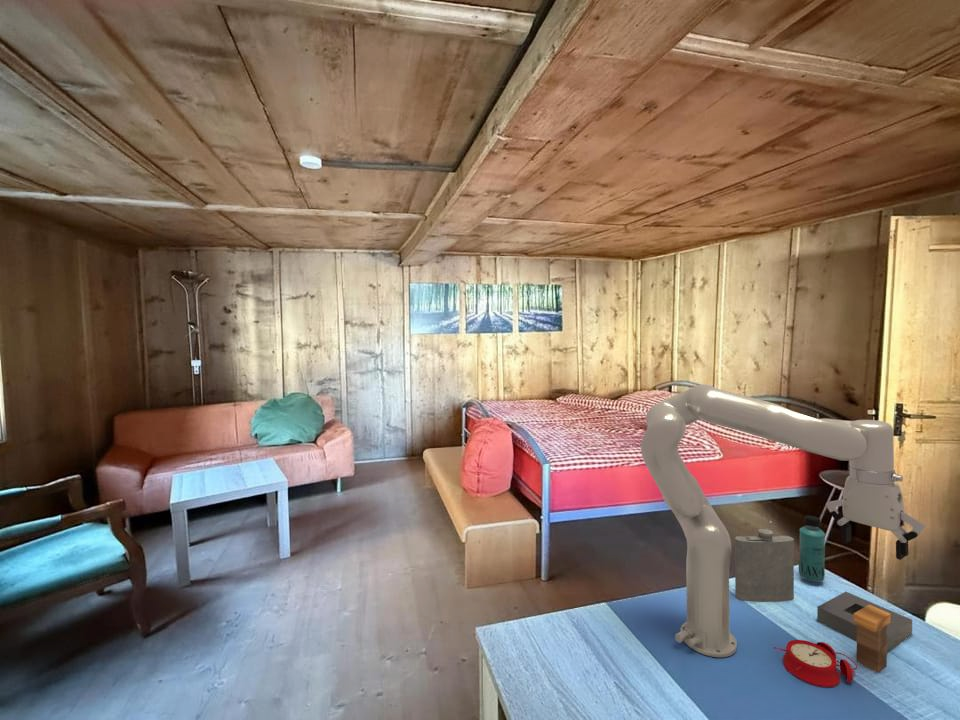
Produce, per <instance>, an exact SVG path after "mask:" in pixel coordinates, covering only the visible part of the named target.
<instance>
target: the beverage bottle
mask: <svg viewBox="0 0 960 720" xmlns="http://www.w3.org/2000/svg"><path fill="white" fill-rule="evenodd" d="M803 524H805V525H804V526H802V527H800V528H799V550H798V553H799V554H798V573H799V576H800V577H802V579H804V580H806V581H810V582H815V583H821V582H823V581H824V580H825V578H826V577H825V576H826V574H825V568H826V567H825V566H826V565H825V563H826V559H825V555H826V553H825V552H826V545H825V544H826V543H825V542H826V534H825V532H824V531H823V530H822V529H821V528H820V527H822V523H821V519H820V517H817V516H814V515H804V519H803Z"/></svg>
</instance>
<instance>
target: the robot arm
mask: <svg viewBox="0 0 960 720" xmlns="http://www.w3.org/2000/svg"><path fill="white" fill-rule="evenodd" d="M699 420H701V421H704V422H707V423H710V424H712V425H716V426H720V427H724V428H728V429H732V430H735V431H739V432H742V433H746V434H749V435H752V436H756V437H761V438H763V439H766V440H768V441H771V442H775V443H778V444H779V443H780V444H783V445H787V446H789V447H793V448H795V449H799V450H802V451H805V452H809V453H812V454H814V455H815V454H816V455H820V456H822V457H826V458H831V459H833V460H834V459H835V460H837V461H846V462H847V461H849V475H848V476H847V477H846V479H845V483H844V487H843V488H844V489H843V495H842V498H841V499H836V500H831V501H828V502H826V503H825V506H826V508H827V510H828V511H829V513H830V516H832V518H833V519H834V520H835V521H836V523H837V525H838V526H839V537H840V538H841V542H842V544H847V543H849V542H851V541H852V525H851V523H850V522H854V523H856V524H857V523H858V524H862V525H864V526H865V525H866V526H868V527H871V528H877V529H879V530H884V531H889V532H892V534H893V535H894V536H895V537H896V539H897V540H896V541H895V558H896V559H897V560H899V561H902V560H903V559H904V558H905V557H908V555H909V541H911V540H914V539H916V538H917V537H919V536H920V534H921V533H922V532H923V531H924V530H925V528H926V525H925V524H924V523H923V522H921V521H919V520H917V519H916V518H914V517H912V516H911V515H909V514H907V513H906V512H905V511H906V510H905V504H904V499H903V498H904V497H903V494H902V489H901V485H900V484H899V483H897V482H901V483H902V482H903V480H904V477H903V475H900V474H897V473H896V470H895V451H894V446H895V445H894V444H895V443H894V428H893V426H892V425H891V424H890V423H888V422H885V421H883V420H877V419H876V420H875V419H857V420H843V419H836V418H835V419H834V418H816V417H814V416H813V417H812V416H808V415H805V414H803V413H800V412H796V411H795V410H792V409H789V408H787V407H785V406H782V405H779V404H776V403H774V402H770V401H766V400H762V399H759V398H755V397H752V396H747V395H742V394H738V393H735V392H731V391H727V390H723V389H720V388H716V387H715V386H712V385H711V384H710V385H709V384H699V385H695V386H692V387H690V388H688V389H686V390H684V391H682V392H680V393H677V394H675V395H673V396H671V397H669V398H667V399H665V400H662V401H659V402H658V403H655V404H654V405H652V406H651V407H650V408H648V410H647V413H646V415H645V423H646V430H645V432H644V434H643V436H642V439H641V445H640V453H641V457H642V460H643V462H644V464H645V466H646V468H647V470H648V472H649V473H650V475H651V477H652V479H653V481H654V484H656V486H657V488H658V489H659V491H660V493H661V496H662V498H663V501H664V503H665V504H666V506H667V507H668V508H669V509H670V510H671V511H672V513H673V514H674V516H675V518H676V520H677V521H678V523H679V524H680V527H681V529H682V531H683V533H684V534H683V535H684V537H685V539H686V548H687V549H686V551H687V552H686V560H685V563H686V564H685V565H686V566H685V567H686V569H685V571H686V572H685V573H686V574H685V577H686V581H685V582H686V621H685V622H683V624H682V625H681V626H680V631H679V632H677V633H675V634H674V639H675V641H676V642H677V643H679V644H680V643H682V642H684V643H685V644H686V645H687V646H688V647H689V648H691V649H692V650H694V651H695V652H697V653H699V654H702V655H705V656H709V657H713V658H726V657H730V656H732V655H733V654H735V653H736V651H737V649H738V648H737V647H738V643H737V639H736V637H735V636H734V635H733V633H732V632H731V631H730V564H731V557H732V556H731V555H732V550H733V549H732V540H731V537H730V533H729V532H728V530H727V528H726V526H725V524H724V523H723V521H722V520H721V519H720V517H719V516H718V514H717V513H716V512H715V509H714V508H713V507H712V504H711V503H710V501H709V500H708V498H707V497H706V495H705V493H704V490H703V489H702V487H701V485H700V483H698V481H697V480H696V478H695V476H694V475H693V474H692V473H690V471H689V469H688V467H687V466H686V463H685V462H684V460H683V458H682V457H681V455H680V453H679V444H680V443H681V441H682V439H683V437H684V435H685V433H686V429H687V428H686V427H687V426H689V425H691V424H693V423H695V422H697V421H699ZM837 507H842V511H841V512H842V513H841V512H840V511H838V509H837ZM906 524H908V525H910V526H911V527H912V530H910V531H906V529H905V528H904V526H905V525H906Z"/></svg>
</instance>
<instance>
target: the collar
mask: <svg viewBox="0 0 960 720" xmlns="http://www.w3.org/2000/svg"><path fill="white" fill-rule="evenodd" d="M867 605H872V606H874V607H876V608H878V609H881V610H883V611H885V612H888V613H890V614H891V622H890V623H889V624H887V654H888V653H890V652H891V651H892V650H894V649H895V648H896V647H898V646H900V643H901V642H902V643H903V642H905V641H906V640H907V639H906V638H908V637H909V636H910V637H912V636H913V619H912V618H909V617H906V616H904V615H902V614H900V613H898V612H895V611H894V610H893V611H892V610H890V609H889V608H886V607H883V606H882V605H881V606H880V605H878V604H876V603H874V602H872V601H870V600H867V599H864V598H862V597H860V596H857V595H856V594H854V593H853V594H852V592H851V593H850V592H847V591H844V592H842V593H840V594H839V595H836V596H834V597H833V598H831V599H829V600H827V601H826V602H823V603H822V604H820V605H818V606H817V610H816V611H817V619H816V620H817V622H818V623H820V624H821V625H824V626H826V627H828V628H830V629H832V630H834V631H836V632H838V633H840V634H842V635H844V636H846V637H847V638H850V639H852V640H854V641H856V642H857V624H856V623H854V622H853V614H854V613H855V612H857V611H859V610H861V609H862V608H864V607H866V606H867ZM911 635H912V636H911ZM910 637H909V638H910ZM909 638H908V639H909ZM905 639H906V640H905ZM904 640H905V641H904ZM902 643H901V644H902Z"/></svg>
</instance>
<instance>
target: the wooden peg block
mask: <svg viewBox="0 0 960 720" xmlns="http://www.w3.org/2000/svg"><path fill="white" fill-rule="evenodd" d="M853 622H854V623H856V624H857V641H856V651H855V652H856V655H855V656H856V662H855V663H858V664H861V665H862V666H863V667H866V668H868V669H869V670H871V671H873V672H874V673H877V674H879V673H880V672H882V671H883V670H885V669H886V668H887V666H888V653H887V624H889V623H890V622H891V614H890V613H888V612H885V611H883V610H881V609H878V608H876V607H874V606H872V605H867V606H866V607H864V608H862V609H861V610H859V611H857V612H855V613H854V614H853Z"/></svg>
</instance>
